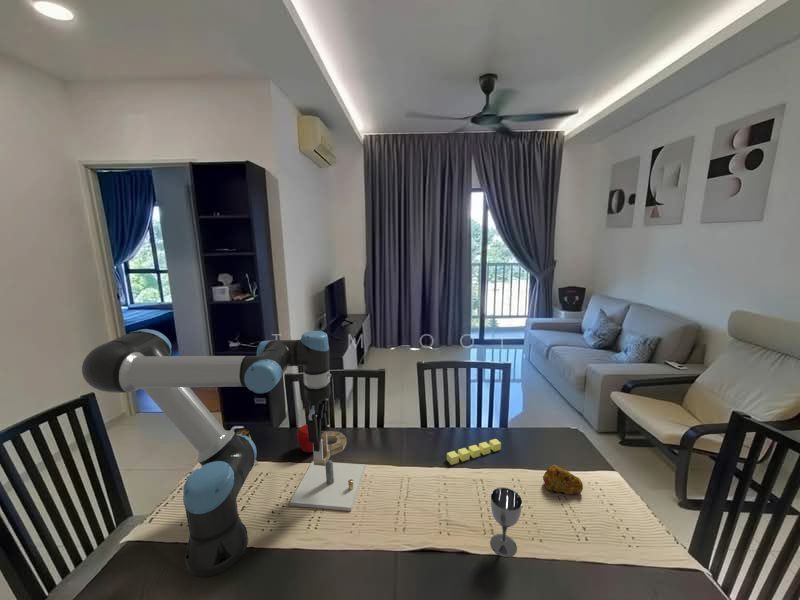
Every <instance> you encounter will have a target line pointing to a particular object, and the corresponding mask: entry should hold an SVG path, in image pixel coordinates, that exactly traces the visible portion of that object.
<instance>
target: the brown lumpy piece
mask: <svg viewBox="0 0 800 600" xmlns="http://www.w3.org/2000/svg"><path fill="white" fill-rule="evenodd" d="M542 481H543V482H544V483H543V484H544V486H545V488H546V489H547V490H548V491H552V490H553V491H554V492H557V493H561V492H562V493H564V494H565V495H569V496H571V495H573V494H581V493H582V492H583V489H584V486H583V485H584V484H583V482H582V480H581V478H579V477H578V476H576V475H574V474H573V473H571V472H570V471H567V470H566V469H564V468H561V467H560V466H557V465H556V464H552V465H550V466H549V467H548V469H547V470H546V471H545V472H544V473H543V476H542Z"/></svg>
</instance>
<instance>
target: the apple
mask: <svg viewBox="0 0 800 600" xmlns="http://www.w3.org/2000/svg"><path fill="white" fill-rule="evenodd" d="M296 435H297V436H296V439H297V443H298V446H299V448H300V449H301V450H302V451H303V452H305V453H313V443H309V435H308V424H303V425H302V426H300V428H299V429H298V430H297V434H296Z"/></svg>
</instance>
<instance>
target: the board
mask: <svg viewBox="0 0 800 600" xmlns="http://www.w3.org/2000/svg"><path fill="white" fill-rule="evenodd" d="M365 470H366V464H363V463H362V464H360V463H349V462H333V460H331V459H328V461H327V463H326V465H325V466H320V465H314V460H312V461H311V463H310V465H309V467H308V469H307V471H306V472H305V474H304V476H303V478H302V479H301V482H300V483H299V485H298V487H297V488H296V490H295V492H294V493H293V495H292V498H291V499H290V501H289V506H291V507H303V508H313V509H314V508H315V509H325V510H327V509H328V510H337V511H338V510H339V511H348V512H352V509H353V507H354V503H355V500H356V498H357V494H358V491H359V489H360V488H359V487H360V485H361V482H362V479H363V475H364V473H365ZM350 479H352V480H353V490H349V485H348V481H349V480H350Z"/></svg>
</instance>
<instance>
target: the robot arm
mask: <svg viewBox="0 0 800 600" xmlns="http://www.w3.org/2000/svg"><path fill="white" fill-rule="evenodd" d="M300 337H301V338H300V339H271V340H263V341H261V342H260V343H259V344H258V346H257V349H256V355H201V356H200V355H195V356H194V355H183V356H182V355H177V356H176V355H172V347H173V346H172V343H171V341H170V340H169V338H168V337H167V336H166V335H165V334H163V333H161V332H160V331H158V330H155V329H148V328H143V329H138V330H133V331H130V332H128V333H126V334H124V335H122V336H119V337H116V338H115V339H112V340H110V341H108V342H106V343H103V344H100V345H98V346H97V347H95V348H94V349H92V350H91V351H90V352H89V353H88V354H87V355H86V356H85V358H84V360H83V361H82V366H81V373H82V377H83V378H84V380H85V382H86V383H87V384H88V385H89V386H91V388H94V389H96V390H98V391H101V392H106V393H107V392H108V393H117V394H118V393H119V394H120V393H134V392H136V391H138V390H143V391H144V392H145V393H146V394H147V396H148V397H149V398H150V399H151V400H152V402H154V403H155V405H156V406H157V407H158V408H159V409H160V411H161V412H163V414H164V415H165V416H166V417H167V418H168V419H169V420H170V422H171V423H172V424H173V425H174V426H175V427H176V428H177V429H178V431H179V432H180V433H181V434H182V436H184V437H185V439H186V440H187V441H188V442H189V444H191V445H192V446H193V447H194V449H195V450H196V451H197V453H198V454H197V455H198V456H197V462H198V463H199V464H200V466H201V468H197V469H195V470H194V471H192V473H190V475H188V477H187V479H186V481H185V483H184V486H183V498H182V499H183V500H182V501H183V505H184V508H185V509H184V510H185V515H186V516H185V517H186V520H187V525H188V526H187V528H188V533H189V538H188V542H187V546H186V549H185V555H184V558H185V559H184V560H185V566H186V569H187V571H188V572H189V574H191V575H193V576H195V577H199V578H205V577H207V578H208V577H211V576H215V575H219V574H220V573H222V572H224V571H226V570H228V569H229V568H231V567H232V566H233V565H234V564H235V563H237V562H238V561H239V560H240V559H241V557H242V556H243V554H244V553H245V551H246V549H247V546H248V544H249V535H248V534H249V533H248V530H247V527H246V525H245V523H243V522H242V520H241V518H240V516H239V512H238V504H237V503H238V501H237V499H238V496H239V493H240V492H241V490H242V488H243V486H244V484H245V481H246V480H247V479H248V476H249V474H250V472H251V471H252V470H253V468H254V467H255V466H254V462H255V459H256V460H257V453H258V452H257V447H256V444H255V443H254V441H253V440H252V438H251V439H250V438H249V437H247V436H242V435H241V434H236V431H234V430H226V429H225V428H224V427H223V425H221V423H220V422H219V421H218V420H217V418H216V417H215V416H214V415H213V413H212V412H211V411H210V410H209V409H208V408H207V406H206V405H205V404H204V403H203V402H202V401H201V399H200V398H199V397H198V396H197V394H195V392H194V391H193V390H192V389H191V388H218V387H219V388H221V387H222V388H224V387H226V388H227V387H229V388H230V387H232V388H233V387H247V389H248V390H250V391H252V392H253V393H256V394H265V393H268V392H271V391H272V390H273V388H275V387H276V386H277V384H279V382H280V380H281V379H282V376H283V375H284V373H285V371H286V370H287V369H288V367H301V366H302V371H303V372H302V373H303V384H304V385H303V388H304V397H305V399H306V400H308V401H309V413H306V415H305V419H306V421H307V424H308V435H309V443H313V452H312V453H313V460H314V459H318V460H323V444H322V439H321V432H324V433H325V434H326V446H327V450H328V445H329V444H328V442H327V432H328V431H331V430H330V429H331V427H330V426H329V425H330V396H331V393H332V391H331V390H332V389H331V388H332V387H331V377H332V373H330V367H331V366H330V346H329V338H328V337H329V336H328V334H327V333H326V331H325V332H324V331H322V330H312V331H311V330H309V331H306V332H304V333H302V334H301V336H300Z"/></svg>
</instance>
